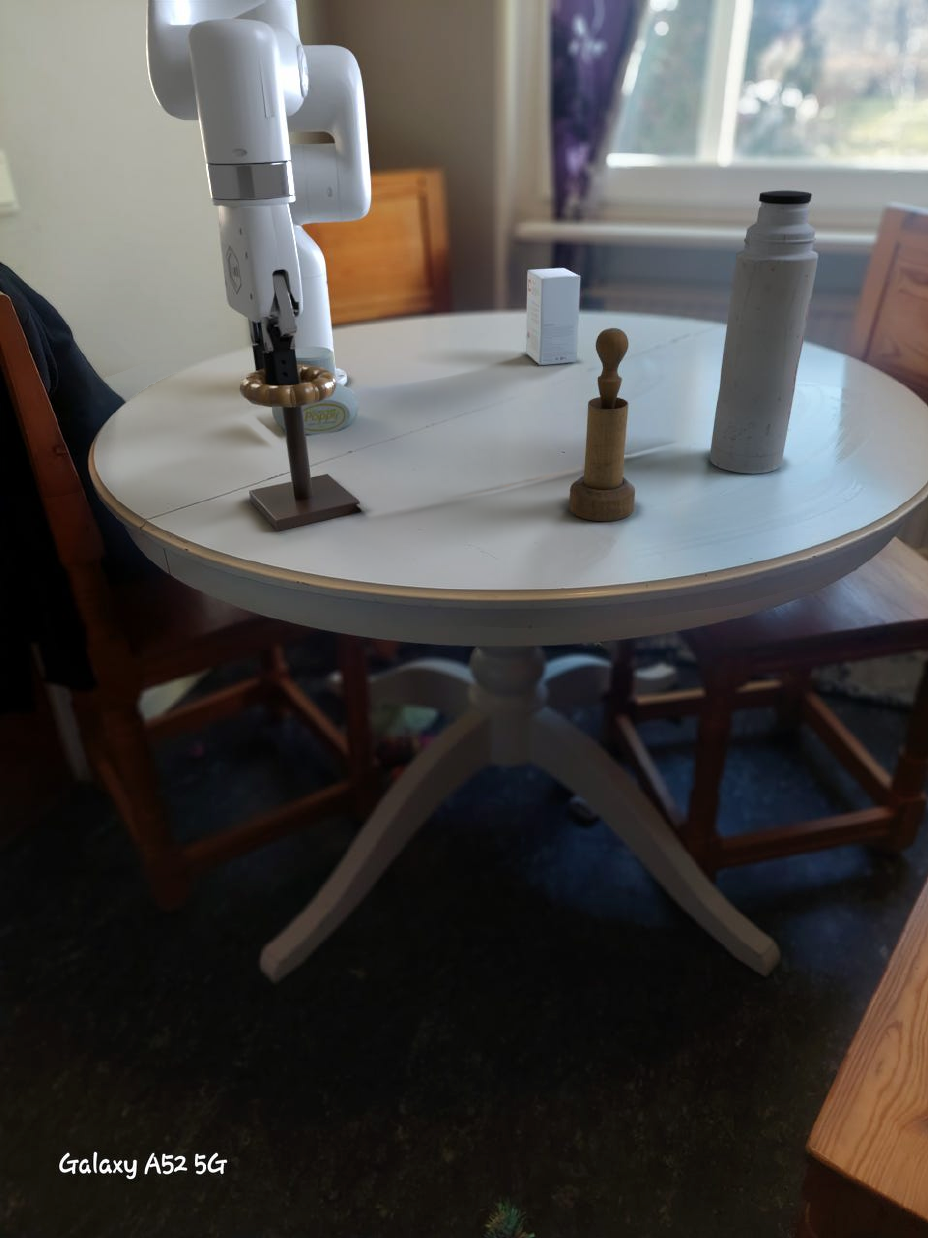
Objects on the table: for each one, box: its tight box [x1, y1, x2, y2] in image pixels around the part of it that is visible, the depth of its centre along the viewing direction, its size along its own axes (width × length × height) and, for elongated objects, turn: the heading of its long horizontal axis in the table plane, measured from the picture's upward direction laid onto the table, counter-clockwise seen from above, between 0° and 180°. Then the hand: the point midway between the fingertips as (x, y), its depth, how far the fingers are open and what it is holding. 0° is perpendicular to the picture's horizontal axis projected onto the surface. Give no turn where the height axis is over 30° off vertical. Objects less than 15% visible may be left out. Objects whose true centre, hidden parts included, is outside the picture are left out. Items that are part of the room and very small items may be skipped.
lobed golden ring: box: [239, 365, 337, 408], centre depth 85 cm, size 9×9×2 cm
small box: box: [525, 267, 581, 366], centre depth 137 cm, size 8×6×13 cm
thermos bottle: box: [709, 189, 819, 475], centre depth 93 cm, size 8×8×28 cm
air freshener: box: [271, 347, 360, 436], centre depth 110 cm, size 11×8×10 cm
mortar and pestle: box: [568, 327, 636, 522], centre depth 85 cm, size 7×6×18 cm
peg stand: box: [248, 406, 361, 532], centre depth 89 cm, size 9×9×12 cm
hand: (278, 385), depth 88 cm, fingers closed on lobed golden ring, 2 cm apart
